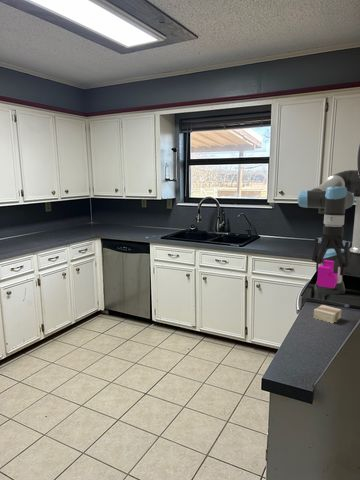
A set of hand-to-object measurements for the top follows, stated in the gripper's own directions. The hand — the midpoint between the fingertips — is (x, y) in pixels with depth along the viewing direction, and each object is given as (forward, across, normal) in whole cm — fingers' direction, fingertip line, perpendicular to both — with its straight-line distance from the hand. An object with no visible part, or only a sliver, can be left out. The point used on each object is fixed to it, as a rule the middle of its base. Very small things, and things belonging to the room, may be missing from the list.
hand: (329, 280), depth 144 cm
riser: (+17, +1, -2) cm, 17 cm away
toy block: (+1, 0, -2) cm, 2 cm away
